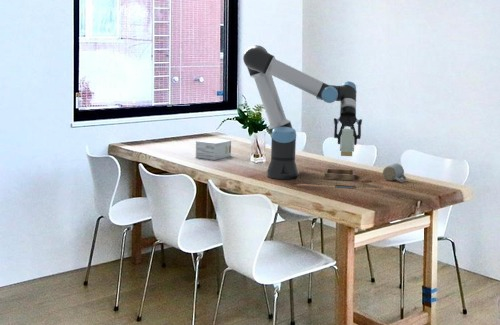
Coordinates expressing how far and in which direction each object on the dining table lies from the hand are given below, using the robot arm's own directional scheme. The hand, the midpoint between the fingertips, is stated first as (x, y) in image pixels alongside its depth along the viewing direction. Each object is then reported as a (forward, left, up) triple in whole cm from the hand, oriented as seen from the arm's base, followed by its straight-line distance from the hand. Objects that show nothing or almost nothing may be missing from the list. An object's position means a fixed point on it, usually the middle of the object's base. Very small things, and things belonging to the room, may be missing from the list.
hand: (347, 149), depth 316 cm
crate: (-6, +5, -16) cm, 18 cm away
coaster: (+5, -8, -16) cm, 18 cm away
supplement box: (-92, +10, -16) cm, 94 cm away
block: (-2, +3, -3) cm, 5 cm away
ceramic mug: (+14, +22, -16) cm, 31 cm away
